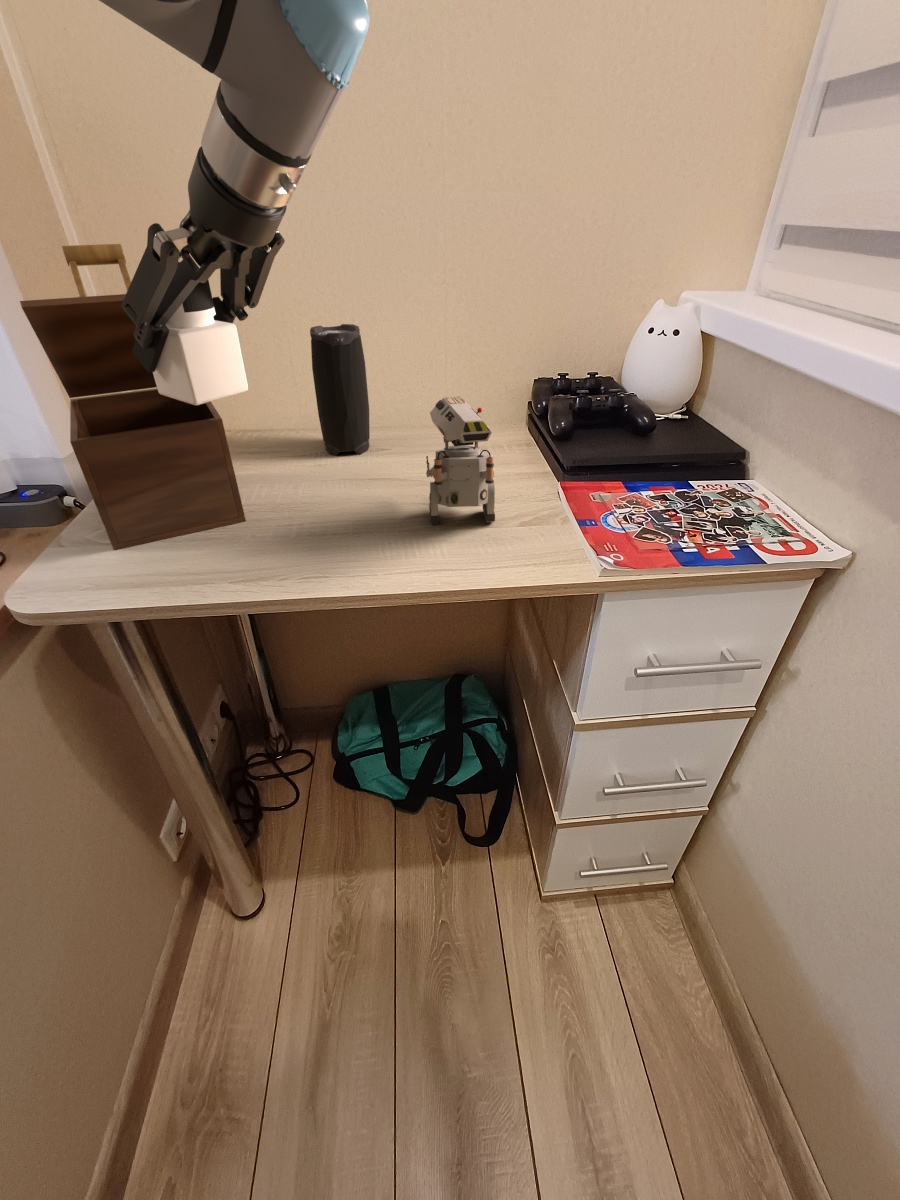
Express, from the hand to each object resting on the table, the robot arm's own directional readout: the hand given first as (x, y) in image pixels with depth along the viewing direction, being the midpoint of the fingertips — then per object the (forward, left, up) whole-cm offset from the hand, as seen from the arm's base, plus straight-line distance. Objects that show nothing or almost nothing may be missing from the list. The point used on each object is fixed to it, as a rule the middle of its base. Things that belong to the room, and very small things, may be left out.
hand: (176, 353), depth 64 cm
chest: (-5, +9, -22) cm, 25 cm away
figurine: (+31, -10, -23) cm, 40 cm away
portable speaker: (+25, +19, -23) cm, 39 cm away
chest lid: (-5, +11, -1) cm, 13 cm away
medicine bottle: (+2, -3, -4) cm, 5 cm away
